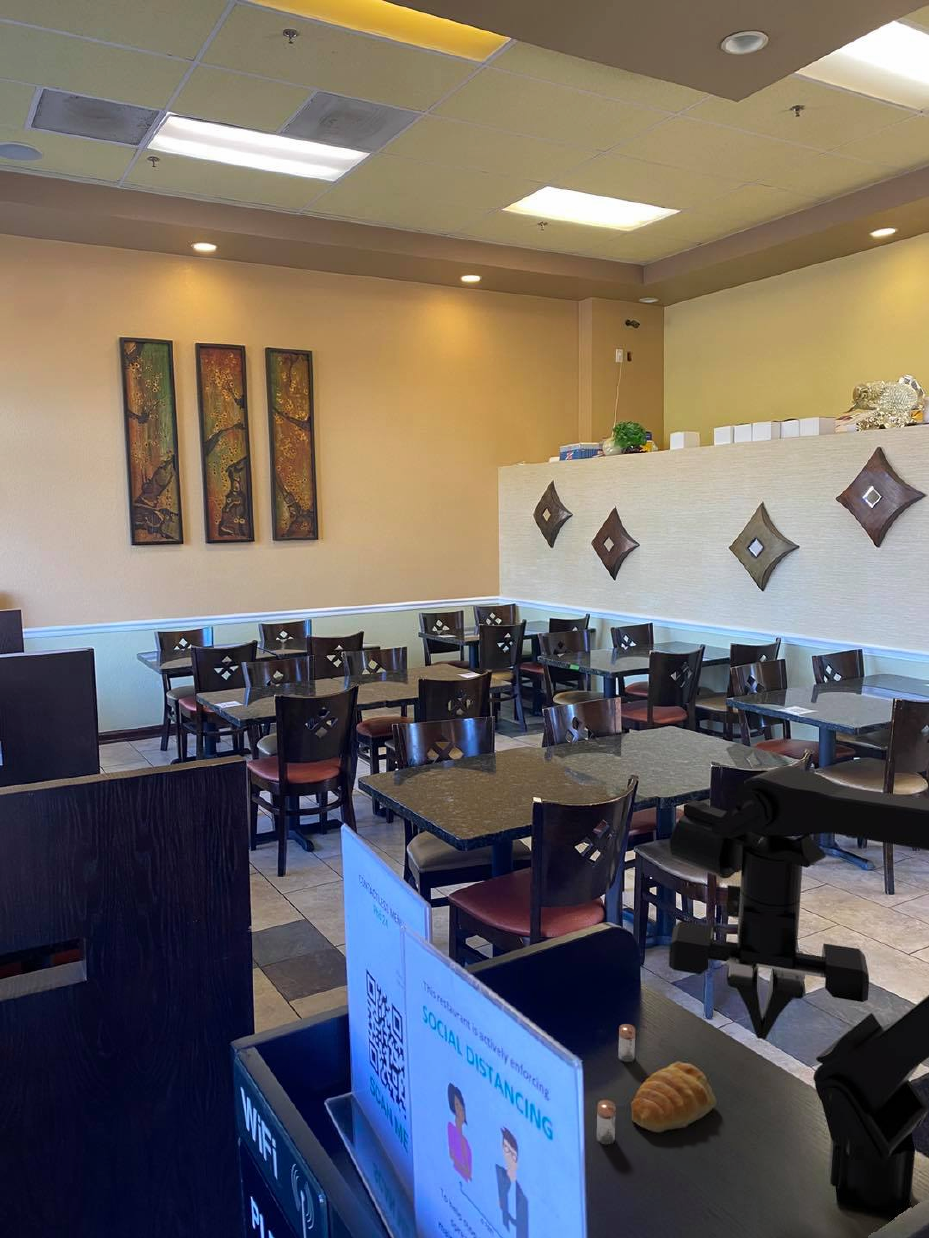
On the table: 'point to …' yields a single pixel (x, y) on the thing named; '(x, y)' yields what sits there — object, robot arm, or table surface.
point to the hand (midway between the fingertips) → (761, 1036)
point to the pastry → (672, 1098)
